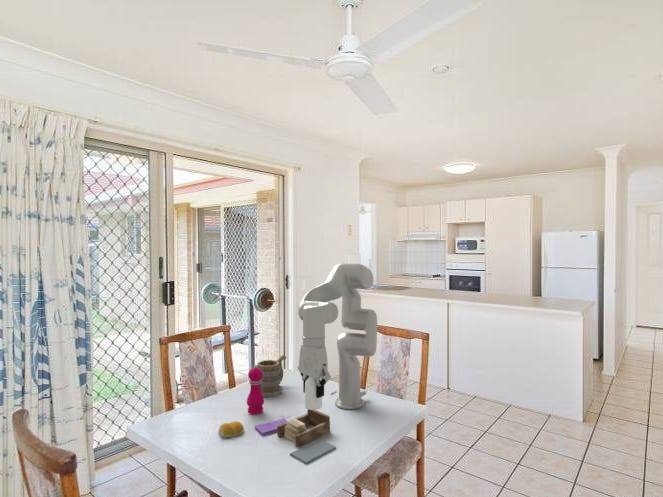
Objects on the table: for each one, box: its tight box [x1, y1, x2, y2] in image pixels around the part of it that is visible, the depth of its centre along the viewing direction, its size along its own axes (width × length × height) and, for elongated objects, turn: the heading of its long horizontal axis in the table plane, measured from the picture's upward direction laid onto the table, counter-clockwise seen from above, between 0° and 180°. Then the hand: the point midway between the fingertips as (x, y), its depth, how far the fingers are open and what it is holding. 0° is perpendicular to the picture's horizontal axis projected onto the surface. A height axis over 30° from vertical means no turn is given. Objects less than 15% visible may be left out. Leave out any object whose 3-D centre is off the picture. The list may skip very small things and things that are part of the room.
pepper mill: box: [246, 364, 265, 416], centre depth 168 cm, size 7×7×20 cm
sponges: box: [254, 417, 288, 437], centre depth 153 cm, size 7×13×2 cm, turn 122°
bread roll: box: [218, 420, 244, 439], centre depth 149 cm, size 8×9×4 cm
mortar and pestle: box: [256, 354, 287, 398], centre depth 193 cm, size 20×13×15 cm, turn 147°
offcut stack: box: [284, 418, 307, 443], centre depth 145 cm, size 5×8×6 cm, turn 46°
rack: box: [276, 409, 331, 448], centre depth 148 cm, size 16×11×6 cm
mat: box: [289, 438, 337, 465], centre depth 136 cm, size 14×8×1 cm, turn 136°
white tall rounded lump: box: [304, 376, 323, 411], centre depth 135 cm, size 6×12×6 cm
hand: (313, 393), depth 135 cm, fingers closed on white tall rounded lump, 5 cm apart
